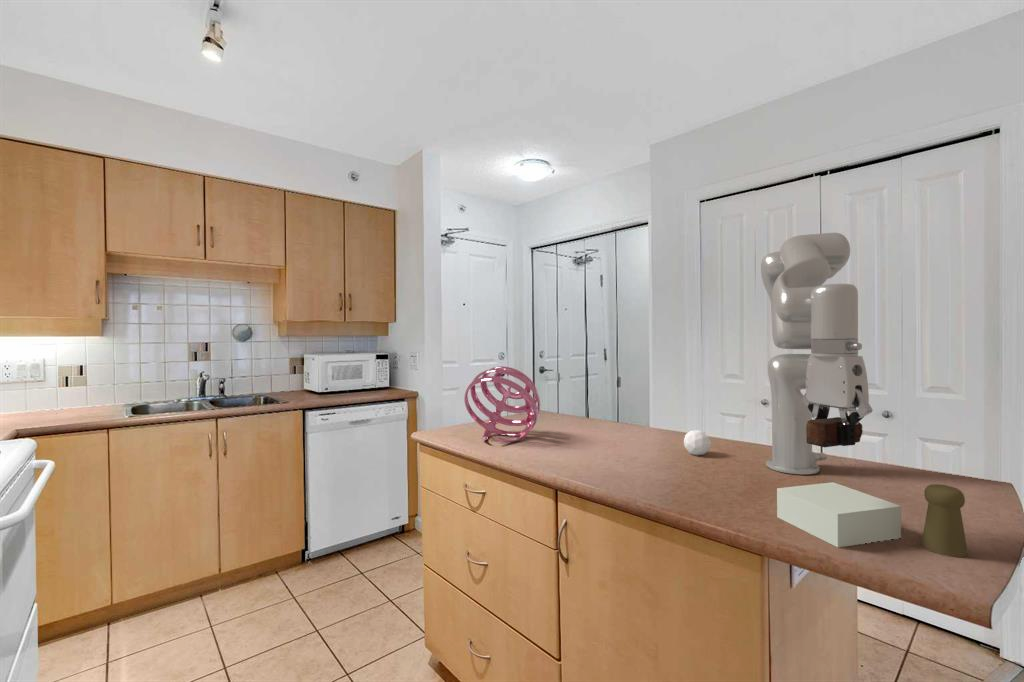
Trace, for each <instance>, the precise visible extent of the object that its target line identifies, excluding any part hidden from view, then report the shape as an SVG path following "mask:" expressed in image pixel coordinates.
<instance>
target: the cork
mask: <svg viewBox="0 0 1024 682" xmlns="http://www.w3.org/2000/svg"><path fill="white" fill-rule="evenodd" d="M923 493H924V495H923V496H924V499H925V501H926V503H928V505H927V509H926V515H925V522H924V527H923V532H922V537H921V543H920V545H921V544H922V545H921V546H922V548H924V549H925V550H927V549H928V551H929V550H930V552H931V553H934V552H935V553H934V554H937V553H939V554H938V555H941V554H942V555H941V556H945V555H947V556H946V557H950V556H951V558H966V556H967V557H968V556H969V552H968V545H967V540H966V534H965V528H964V522H963V516H962V510H961V508H963V507H964V506H965V503H966V502H965V501H966V498H965V495H964V493H963V492H962V491H961V490H960V489H958V488H956V487H954V486H950V485H946V484H938V483H937V484H930V485H927V486H926V487H925V488H924V492H923Z"/></svg>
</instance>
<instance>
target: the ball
mask: <svg viewBox="0 0 1024 682" xmlns="http://www.w3.org/2000/svg"><path fill="white" fill-rule="evenodd" d="M711 444H712V442H711V440H710V436H708V435H707V433H706V432H704V431H702V430H699V429H694V430H690V431H688V432H687V433H686V434H685V436H684V439H683V446H684V448H685V449H686V450H687V452H688V453H689V454H691V455H694V456H701V455H705V454H706V453H708V452H709V450H710V448H711Z"/></svg>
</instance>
